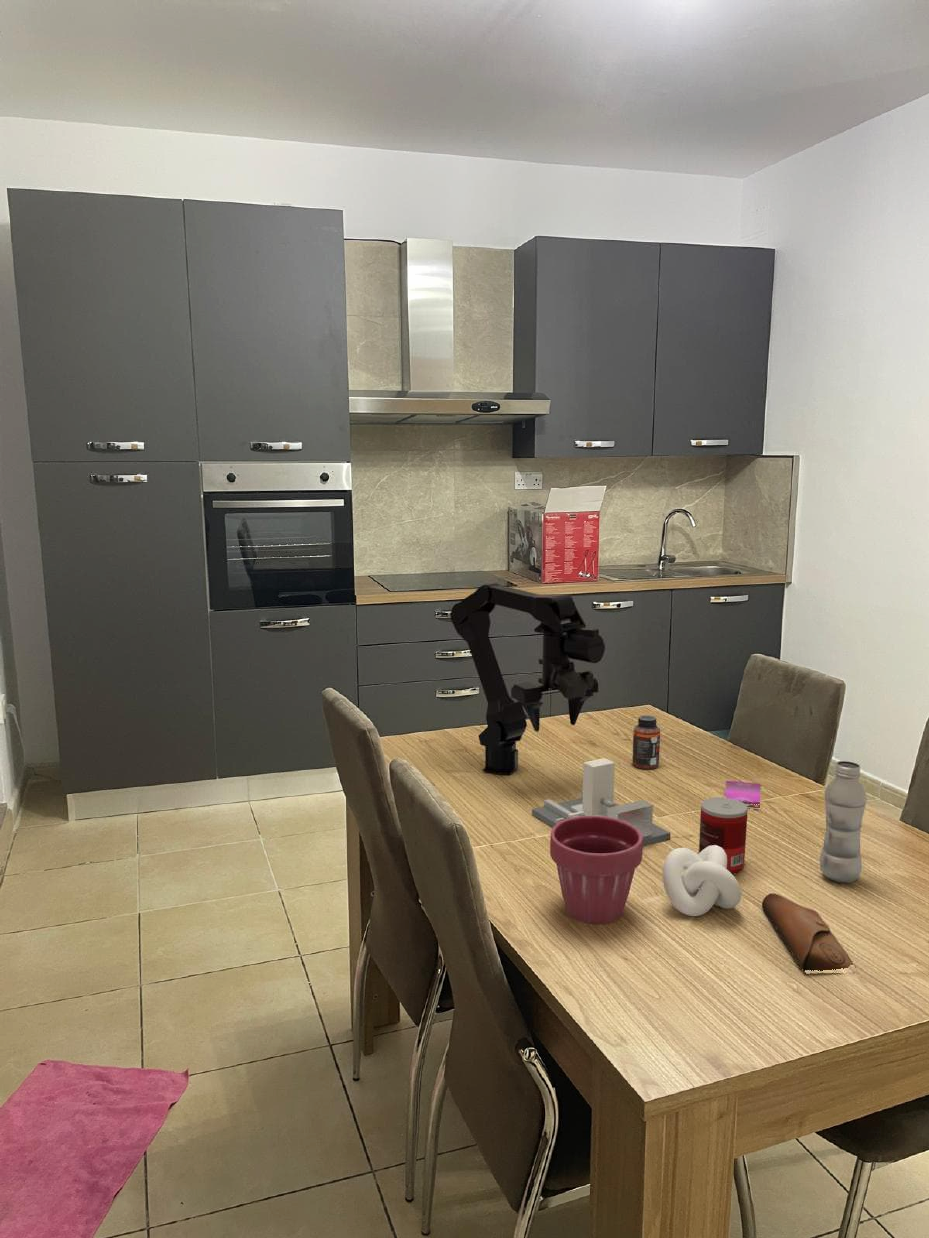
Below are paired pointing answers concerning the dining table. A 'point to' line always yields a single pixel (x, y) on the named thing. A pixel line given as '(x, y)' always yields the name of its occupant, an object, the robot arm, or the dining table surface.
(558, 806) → the track
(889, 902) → the dining table surface
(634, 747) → the supplement bottle
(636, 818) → the grey block with recess
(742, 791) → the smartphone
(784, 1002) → the dining table surface
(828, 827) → the plastic bottle
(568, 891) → the plant pot
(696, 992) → the dining table surface
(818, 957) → the sunglasses case
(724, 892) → the white knot sculpture
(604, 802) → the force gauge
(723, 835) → the canned food
